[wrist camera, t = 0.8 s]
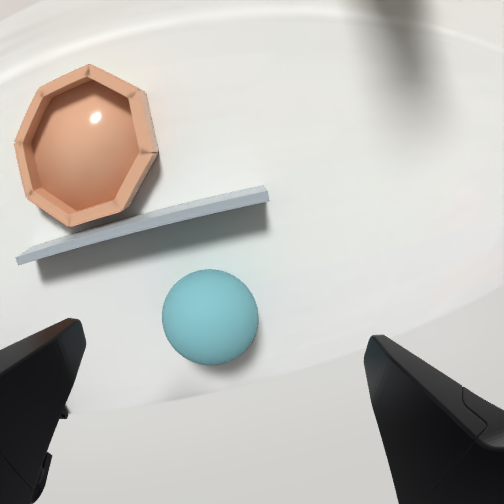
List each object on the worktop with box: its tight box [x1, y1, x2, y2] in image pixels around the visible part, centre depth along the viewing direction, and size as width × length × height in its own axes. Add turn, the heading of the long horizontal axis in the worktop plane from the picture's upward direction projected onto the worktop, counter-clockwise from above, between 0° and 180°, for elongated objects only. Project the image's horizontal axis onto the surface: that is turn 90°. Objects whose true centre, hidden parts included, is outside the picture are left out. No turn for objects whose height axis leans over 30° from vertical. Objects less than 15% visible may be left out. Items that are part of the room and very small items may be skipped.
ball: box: [162, 269, 258, 365], centre depth 20 cm, size 6×6×6 cm
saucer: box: [14, 64, 159, 227], centre depth 18 cm, size 10×10×2 cm
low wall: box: [16, 186, 269, 265], centre depth 19 cm, size 18×1×2 cm, turn 102°
